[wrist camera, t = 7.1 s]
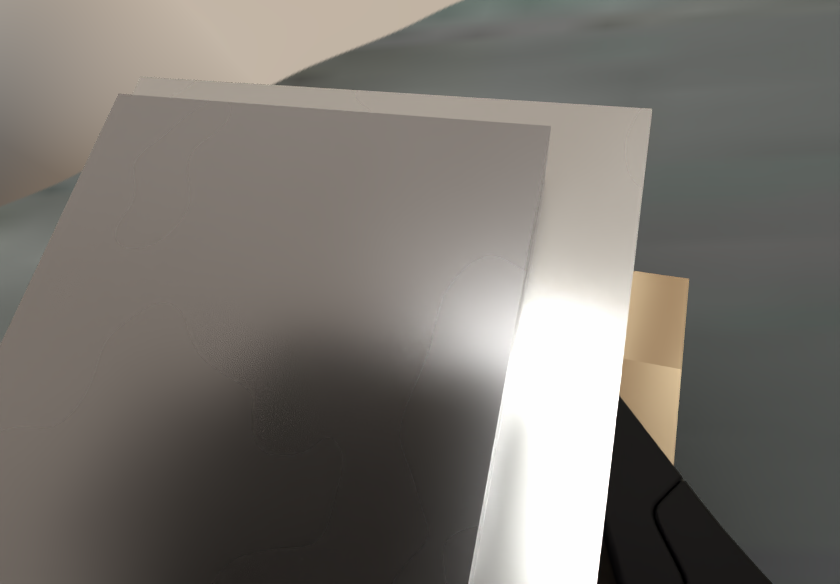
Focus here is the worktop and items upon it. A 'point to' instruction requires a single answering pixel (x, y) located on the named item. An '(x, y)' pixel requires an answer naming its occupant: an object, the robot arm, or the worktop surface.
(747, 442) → the worktop surface
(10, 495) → the grey rectangular block
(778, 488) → the worktop surface
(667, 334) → the socket block
